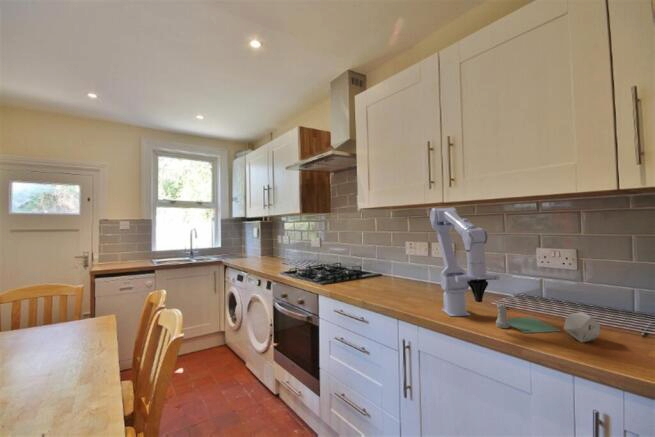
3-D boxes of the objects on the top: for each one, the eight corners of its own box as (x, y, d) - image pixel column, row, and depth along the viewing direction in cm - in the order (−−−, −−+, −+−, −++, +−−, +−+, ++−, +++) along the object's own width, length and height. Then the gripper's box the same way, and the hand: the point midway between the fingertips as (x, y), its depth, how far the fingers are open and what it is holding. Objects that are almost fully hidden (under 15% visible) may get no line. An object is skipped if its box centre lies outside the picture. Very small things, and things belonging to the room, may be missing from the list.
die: (561, 342, 92) (579, 322, 87) (555, 320, 99) (572, 301, 93) (591, 353, 90) (612, 334, 85) (583, 330, 97) (602, 311, 91)
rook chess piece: (492, 325, 107) (491, 302, 107) (503, 323, 108) (501, 301, 108) (502, 329, 103) (501, 306, 103) (513, 327, 104) (512, 304, 104)
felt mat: (500, 319, 113) (500, 319, 113) (532, 318, 113) (532, 317, 113) (524, 333, 99) (524, 332, 99) (561, 331, 99) (561, 330, 99)
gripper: (460, 265, 102) (463, 305, 102) (503, 262, 102) (506, 303, 102) (451, 262, 109) (454, 300, 109) (492, 260, 109) (494, 298, 109)
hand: (478, 301), depth 106 cm, fingers closed
